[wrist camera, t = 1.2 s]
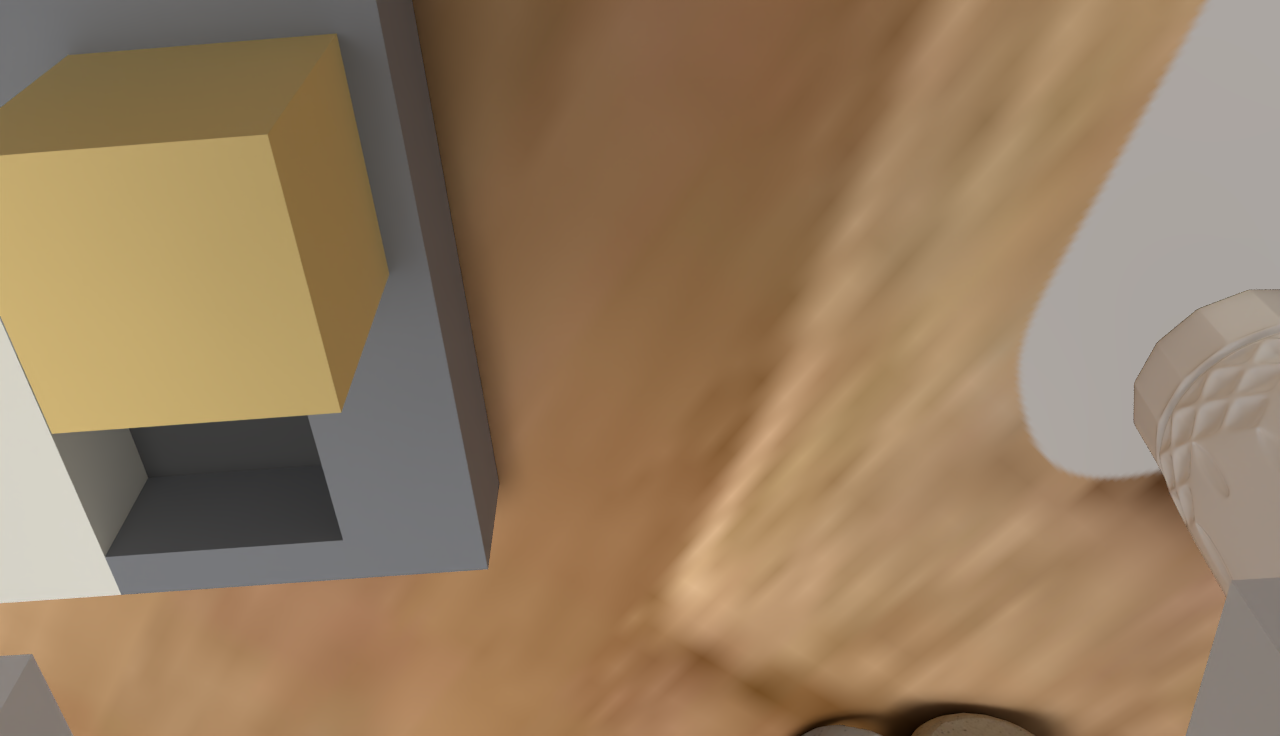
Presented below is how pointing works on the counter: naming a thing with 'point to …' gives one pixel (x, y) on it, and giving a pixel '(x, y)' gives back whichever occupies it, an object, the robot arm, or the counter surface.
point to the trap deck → (282, 446)
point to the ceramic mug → (939, 727)
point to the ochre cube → (188, 234)
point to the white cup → (1220, 430)
